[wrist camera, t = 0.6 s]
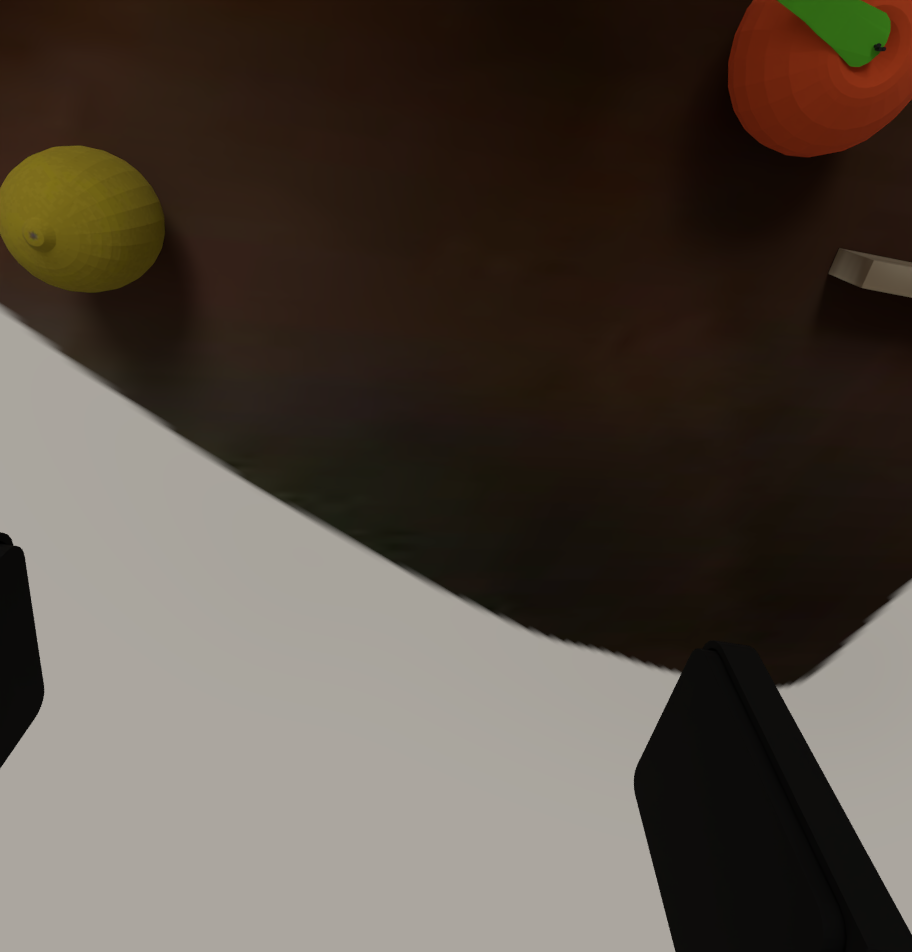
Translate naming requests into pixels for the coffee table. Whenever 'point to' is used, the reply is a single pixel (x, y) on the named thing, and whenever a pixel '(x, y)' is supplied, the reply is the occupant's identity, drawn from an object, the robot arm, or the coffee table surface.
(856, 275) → the corral
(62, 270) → the lemon
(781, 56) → the clementine
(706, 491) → the coffee table surface
